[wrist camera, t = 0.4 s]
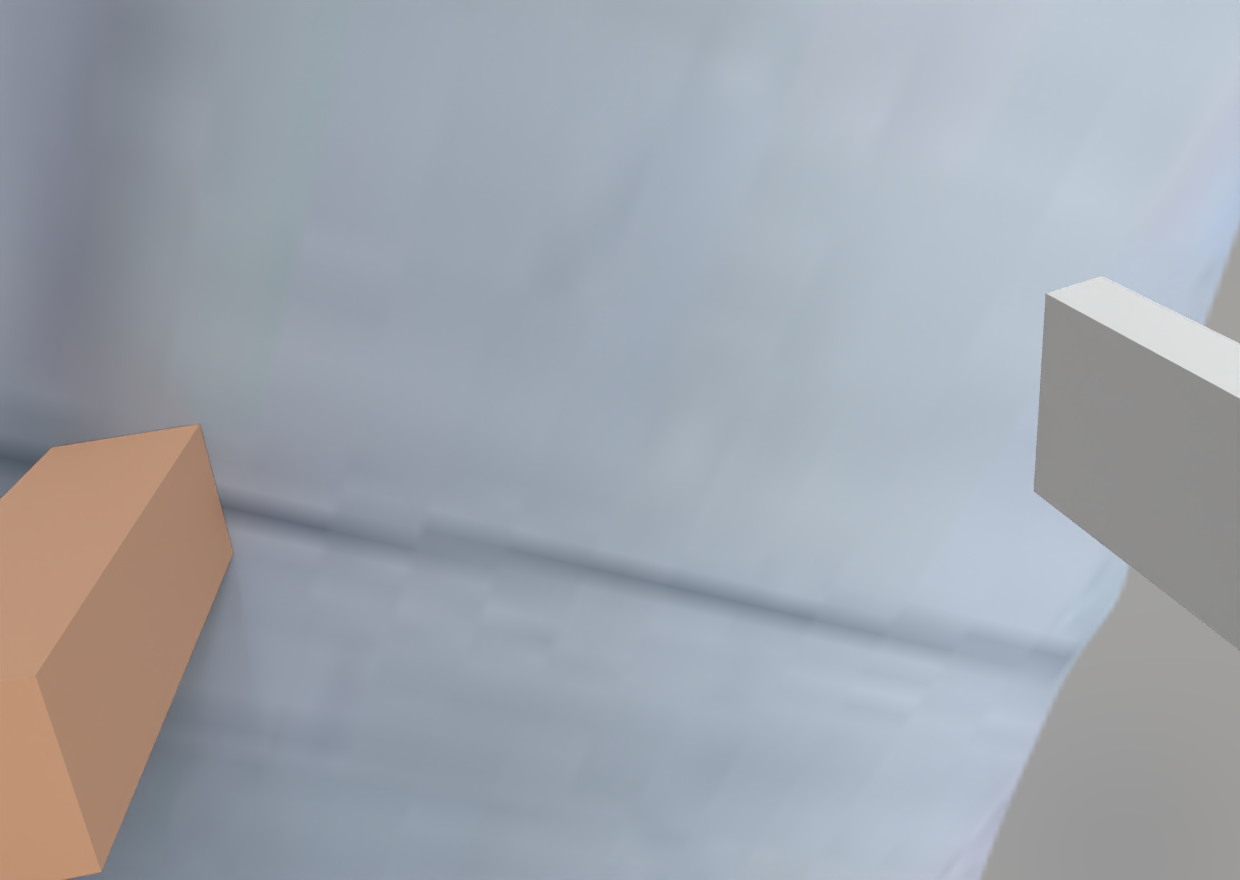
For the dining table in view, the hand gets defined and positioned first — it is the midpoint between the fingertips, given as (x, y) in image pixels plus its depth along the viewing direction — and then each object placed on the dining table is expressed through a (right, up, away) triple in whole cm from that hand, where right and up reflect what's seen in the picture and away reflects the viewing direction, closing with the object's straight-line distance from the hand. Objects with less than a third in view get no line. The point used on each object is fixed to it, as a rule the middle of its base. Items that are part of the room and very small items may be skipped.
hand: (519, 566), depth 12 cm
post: (-14, -1, +25) cm, 29 cm away
